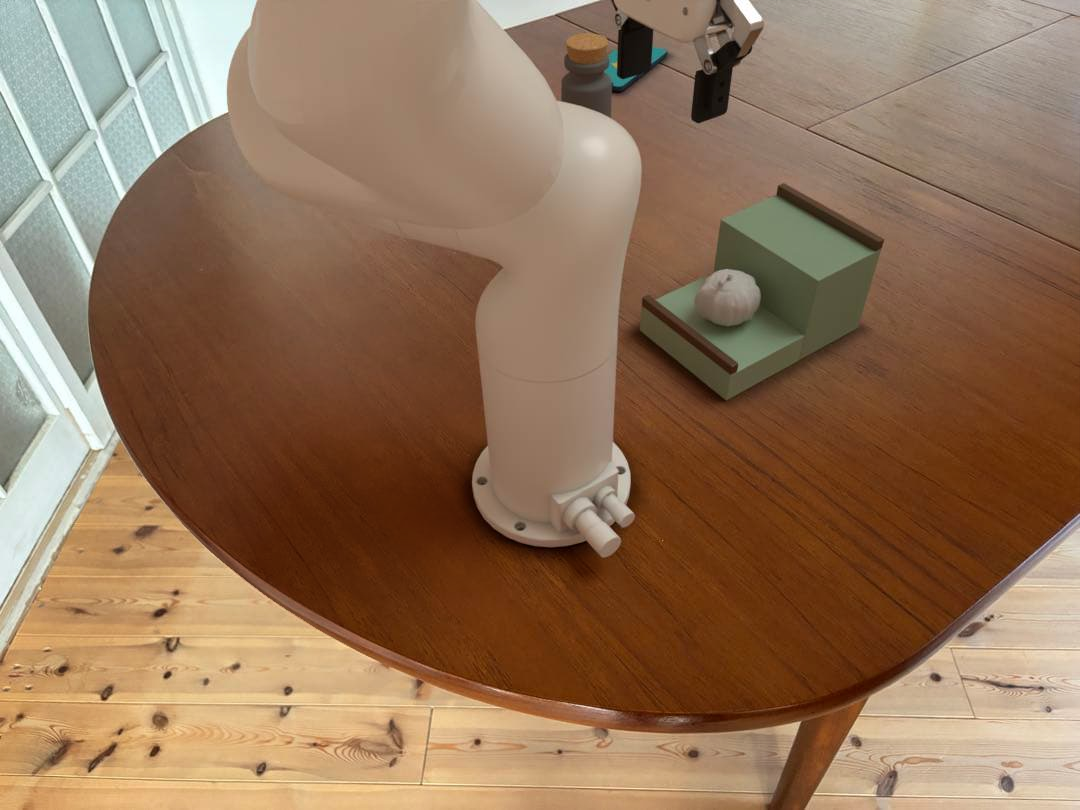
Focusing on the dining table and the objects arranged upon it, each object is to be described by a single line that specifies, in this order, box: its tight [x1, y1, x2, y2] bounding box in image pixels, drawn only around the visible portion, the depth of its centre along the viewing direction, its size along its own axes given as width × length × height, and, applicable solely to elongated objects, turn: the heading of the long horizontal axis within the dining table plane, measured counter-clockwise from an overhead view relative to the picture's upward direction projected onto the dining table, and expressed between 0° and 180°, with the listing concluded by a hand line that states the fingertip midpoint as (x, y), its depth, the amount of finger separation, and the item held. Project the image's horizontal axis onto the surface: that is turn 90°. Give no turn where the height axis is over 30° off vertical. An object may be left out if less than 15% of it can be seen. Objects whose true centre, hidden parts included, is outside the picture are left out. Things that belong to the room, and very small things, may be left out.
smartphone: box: [604, 46, 669, 92], centre depth 125 cm, size 7×1×15 cm
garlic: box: [694, 269, 761, 327], centre depth 77 cm, size 6×5×5 cm
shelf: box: [639, 182, 885, 401], centre depth 79 cm, size 12×17×10 cm
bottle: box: [560, 32, 613, 119], centre depth 100 cm, size 6×6×15 cm
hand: (669, 95), depth 70 cm, fingers open, 9 cm apart
